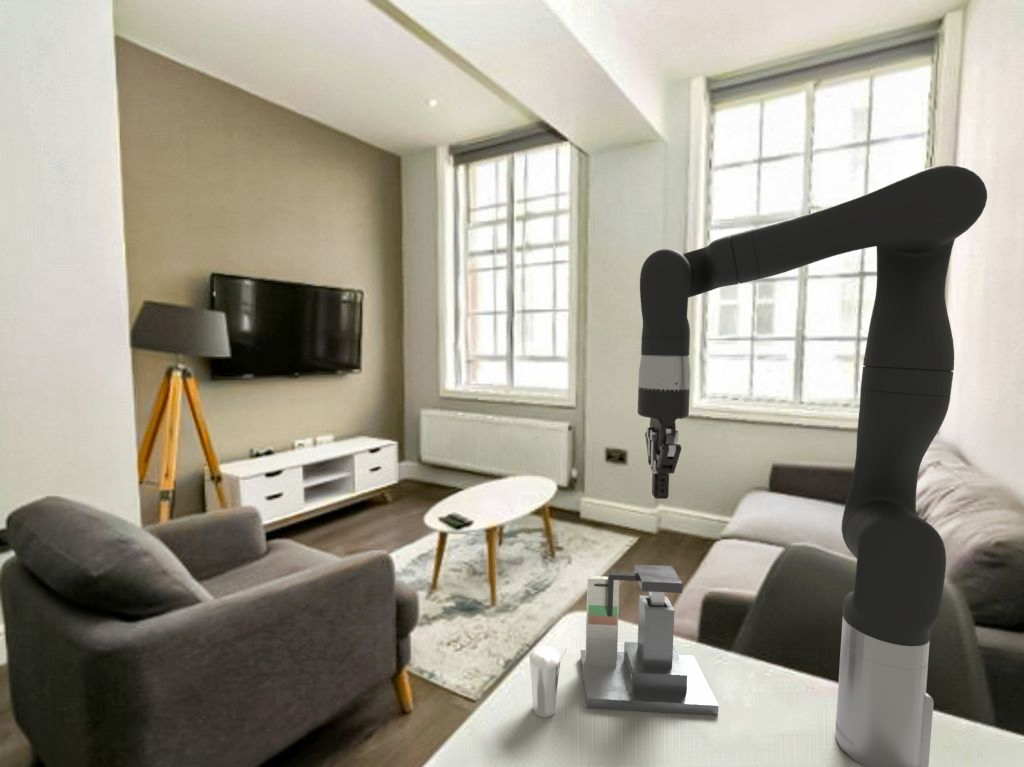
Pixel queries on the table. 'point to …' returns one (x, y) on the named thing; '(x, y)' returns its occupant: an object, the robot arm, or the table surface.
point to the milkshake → (544, 679)
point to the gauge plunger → (647, 583)
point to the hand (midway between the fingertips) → (659, 497)
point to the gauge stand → (639, 661)
